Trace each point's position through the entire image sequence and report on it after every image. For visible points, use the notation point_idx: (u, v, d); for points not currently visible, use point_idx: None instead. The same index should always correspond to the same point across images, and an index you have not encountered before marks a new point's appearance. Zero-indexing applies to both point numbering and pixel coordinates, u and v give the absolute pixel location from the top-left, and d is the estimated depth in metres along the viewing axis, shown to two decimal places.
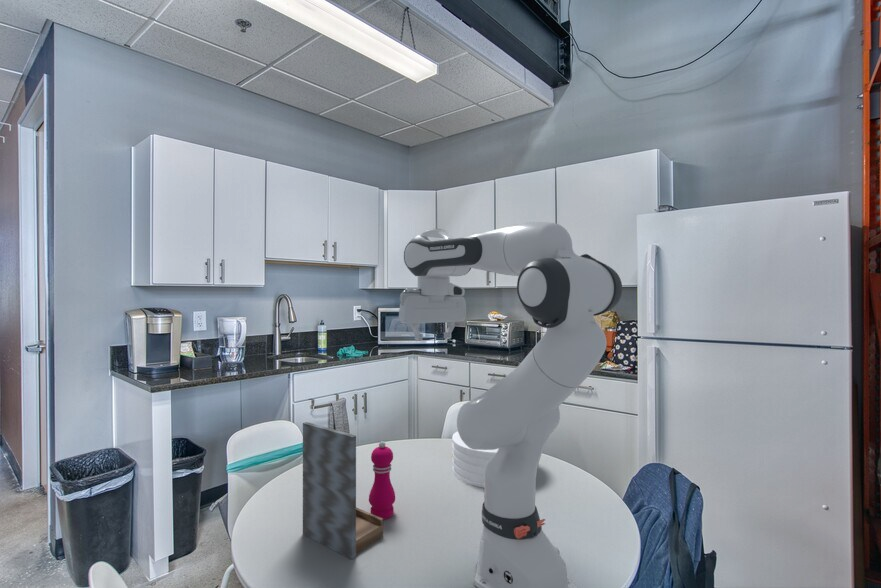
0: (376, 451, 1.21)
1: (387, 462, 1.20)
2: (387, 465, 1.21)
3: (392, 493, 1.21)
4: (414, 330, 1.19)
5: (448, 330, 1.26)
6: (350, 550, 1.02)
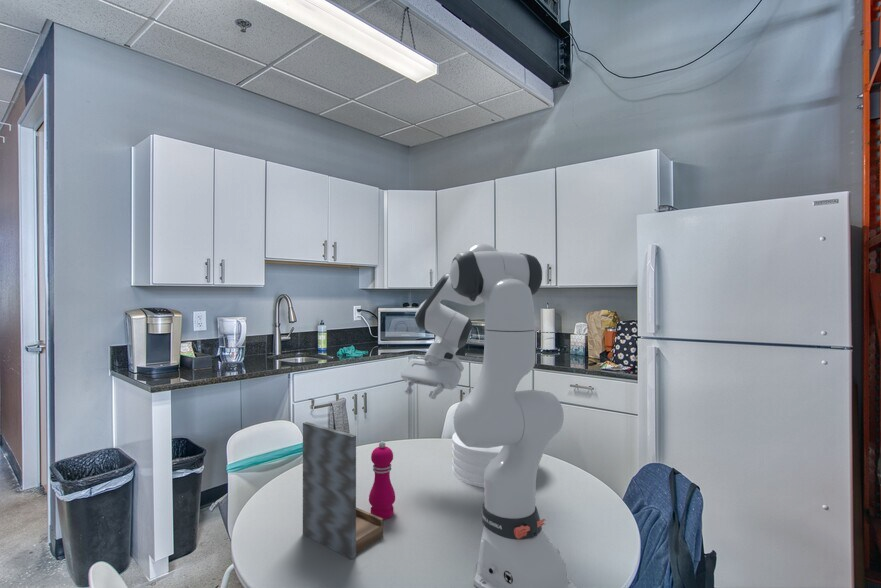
0: (376, 451, 1.21)
1: (387, 462, 1.20)
2: (387, 465, 1.21)
3: (392, 493, 1.21)
4: None
5: None
6: (350, 550, 1.02)
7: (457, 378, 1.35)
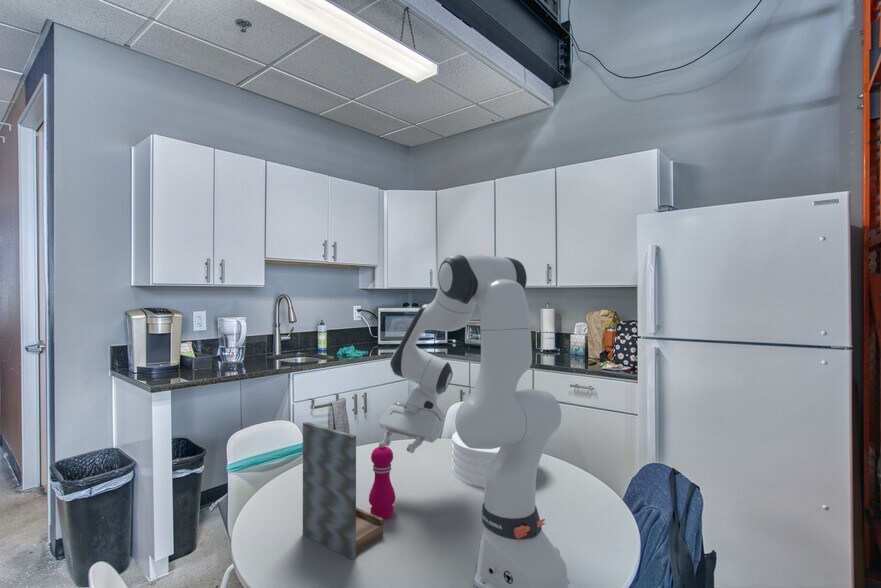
0: (376, 451, 1.21)
1: (387, 462, 1.20)
2: (387, 465, 1.21)
3: (392, 493, 1.21)
4: None
5: None
6: (350, 550, 1.02)
7: (437, 430, 1.26)
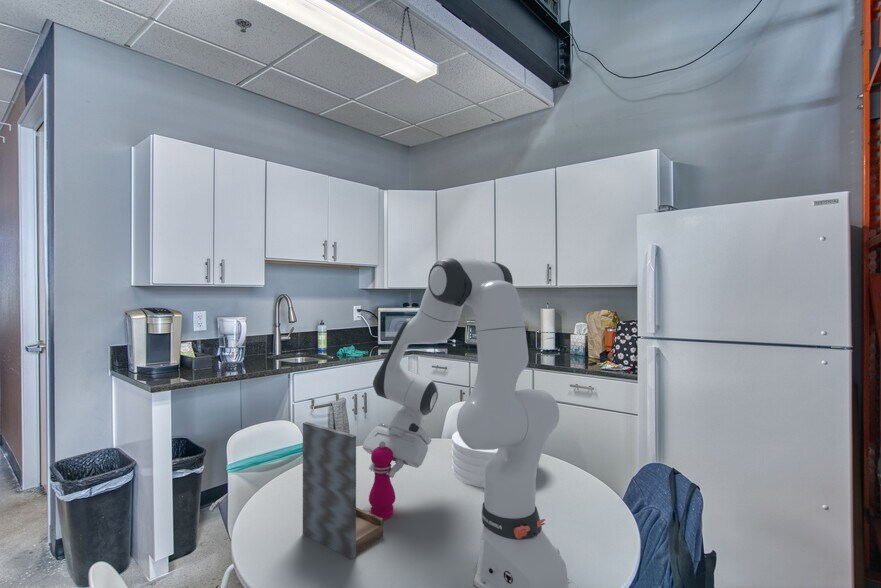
0: (376, 451, 1.21)
1: (387, 462, 1.20)
2: (387, 465, 1.21)
3: (392, 493, 1.21)
4: None
5: None
6: (350, 550, 1.02)
7: (423, 454, 1.21)
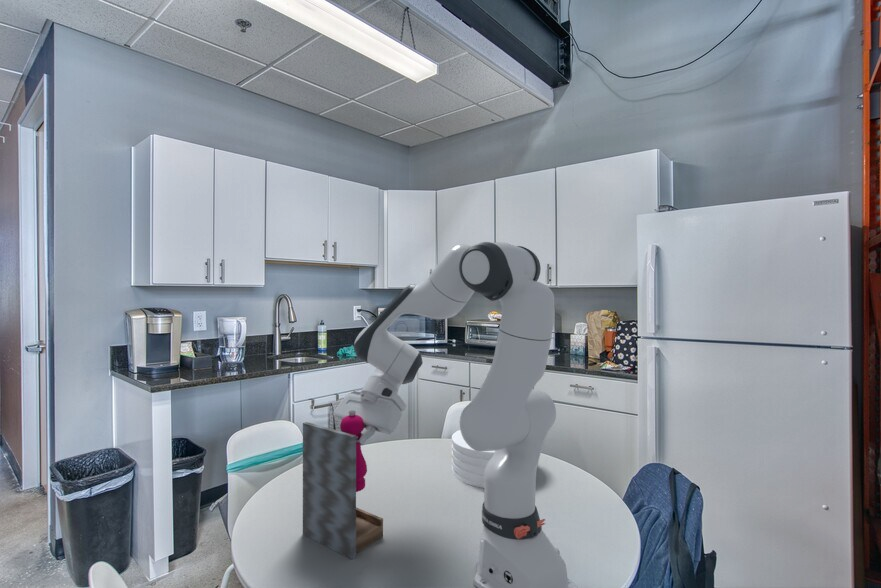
0: (345, 419, 1.12)
1: (357, 431, 1.11)
2: (357, 434, 1.12)
3: (363, 464, 1.12)
4: None
5: None
6: (350, 550, 1.02)
7: (396, 420, 1.12)
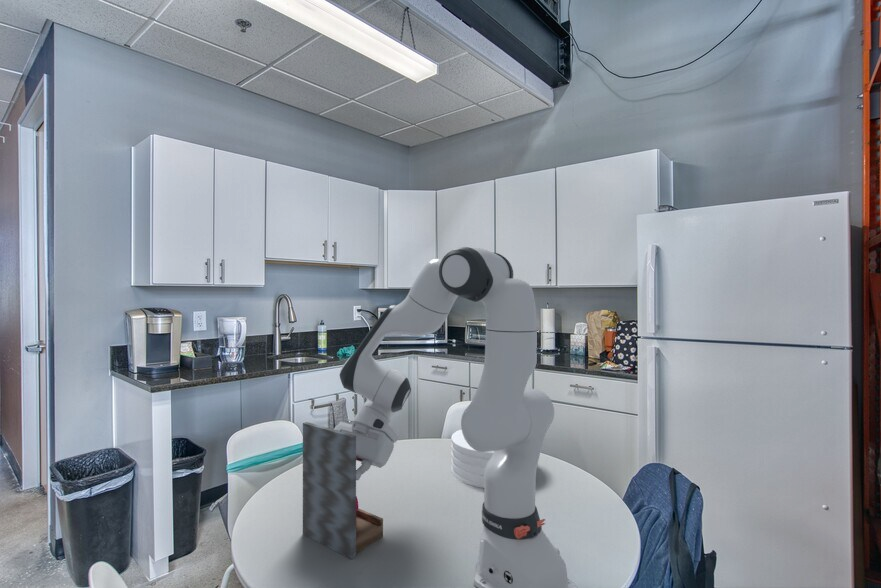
0: None
1: None
2: None
3: None
4: None
5: None
6: (350, 550, 1.02)
7: (387, 453, 1.10)
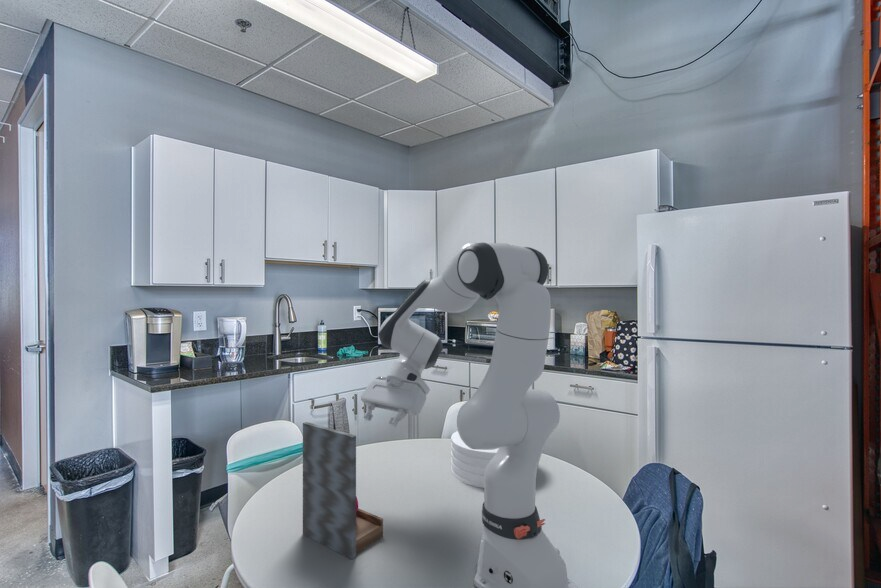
0: None
1: None
2: None
3: None
4: None
5: None
6: (350, 550, 1.02)
7: (421, 402, 1.21)
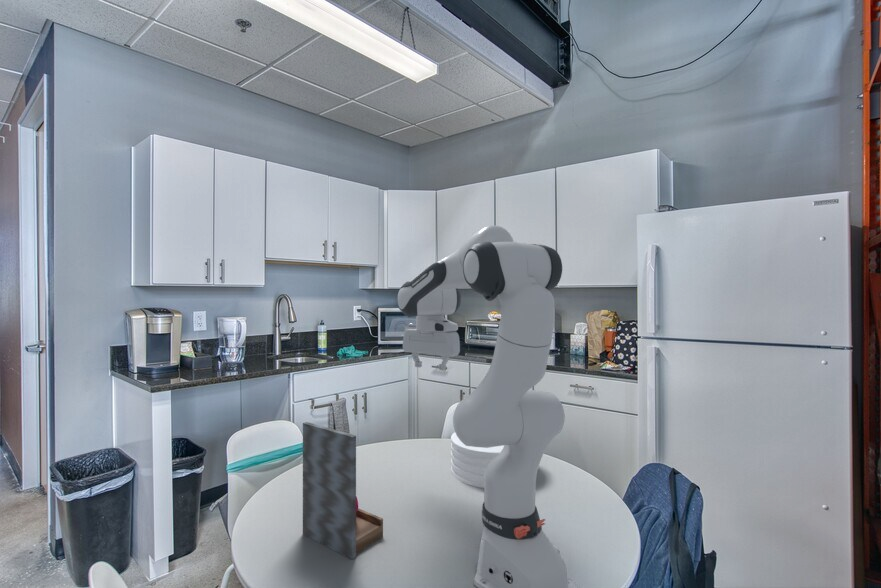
0: None
1: None
2: None
3: None
4: None
5: None
6: (350, 550, 1.02)
7: (457, 344, 1.34)
